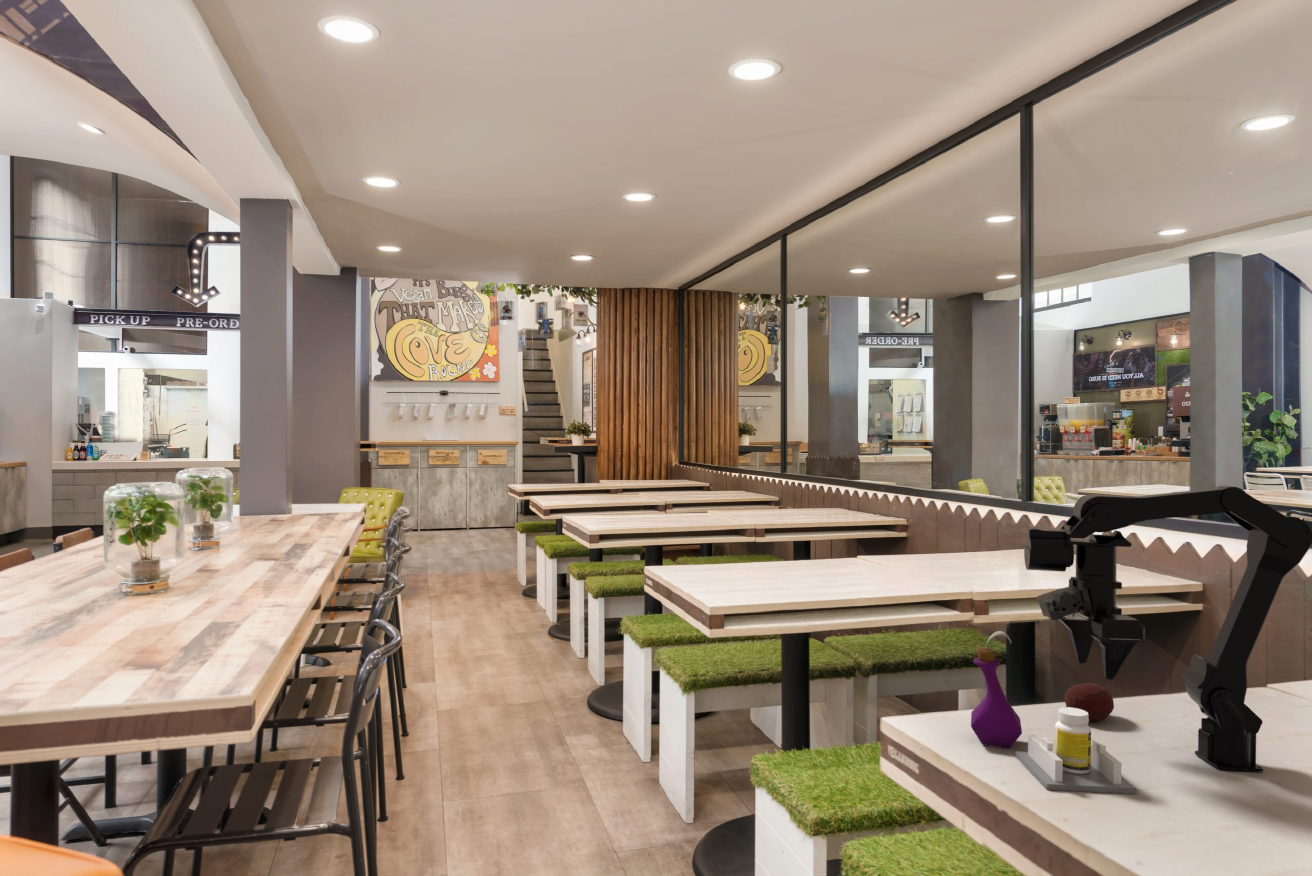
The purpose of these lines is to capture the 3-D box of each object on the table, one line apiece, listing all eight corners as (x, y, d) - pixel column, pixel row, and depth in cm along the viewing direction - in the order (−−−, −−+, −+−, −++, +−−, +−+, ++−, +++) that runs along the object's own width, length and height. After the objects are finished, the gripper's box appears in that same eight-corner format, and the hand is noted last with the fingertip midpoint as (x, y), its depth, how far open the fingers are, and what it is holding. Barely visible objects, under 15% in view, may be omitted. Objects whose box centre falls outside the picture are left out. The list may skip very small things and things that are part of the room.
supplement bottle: (1095, 776, 116) (1096, 718, 116) (1060, 773, 117) (1060, 715, 117) (1084, 763, 121) (1085, 707, 121) (1050, 760, 122) (1051, 704, 122)
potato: (1054, 717, 144) (1054, 683, 144) (1084, 707, 150) (1085, 674, 150) (1095, 730, 138) (1096, 694, 138) (1125, 719, 144) (1126, 684, 144)
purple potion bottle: (970, 746, 129) (972, 634, 129) (971, 731, 136) (972, 624, 136) (1021, 754, 127) (1023, 639, 127) (1019, 738, 133) (1021, 629, 134)
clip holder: (1095, 760, 124) (1096, 728, 124) (1135, 793, 112) (1136, 759, 112) (1015, 756, 125) (1015, 725, 125) (1046, 789, 113) (1047, 755, 113)
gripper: (1021, 563, 139) (1020, 654, 139) (1069, 582, 120) (1068, 687, 120) (1088, 564, 138) (1087, 656, 138) (1147, 583, 120) (1146, 689, 120)
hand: (1095, 670), depth 129 cm, fingers open, 9 cm apart
